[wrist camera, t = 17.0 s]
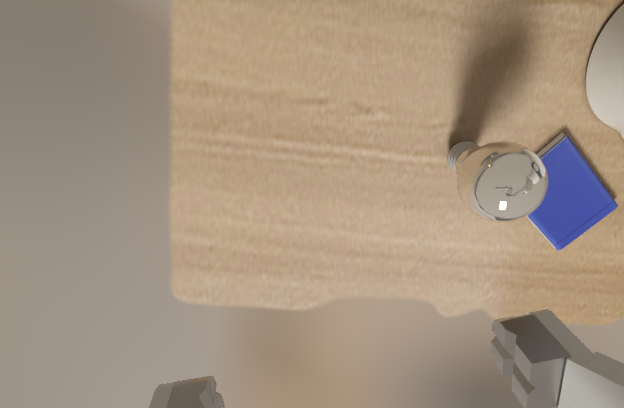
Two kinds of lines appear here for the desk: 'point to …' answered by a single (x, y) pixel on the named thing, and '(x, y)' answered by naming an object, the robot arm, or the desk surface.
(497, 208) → the light bulb
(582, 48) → the desk surface
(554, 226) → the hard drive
